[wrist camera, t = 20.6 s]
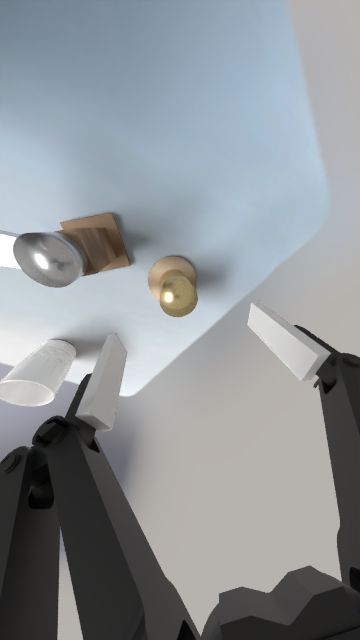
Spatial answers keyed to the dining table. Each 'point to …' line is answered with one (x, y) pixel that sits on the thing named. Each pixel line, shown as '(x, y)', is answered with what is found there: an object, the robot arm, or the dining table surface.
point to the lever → (44, 257)
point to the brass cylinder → (176, 294)
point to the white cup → (38, 374)
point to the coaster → (164, 266)
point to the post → (98, 242)
